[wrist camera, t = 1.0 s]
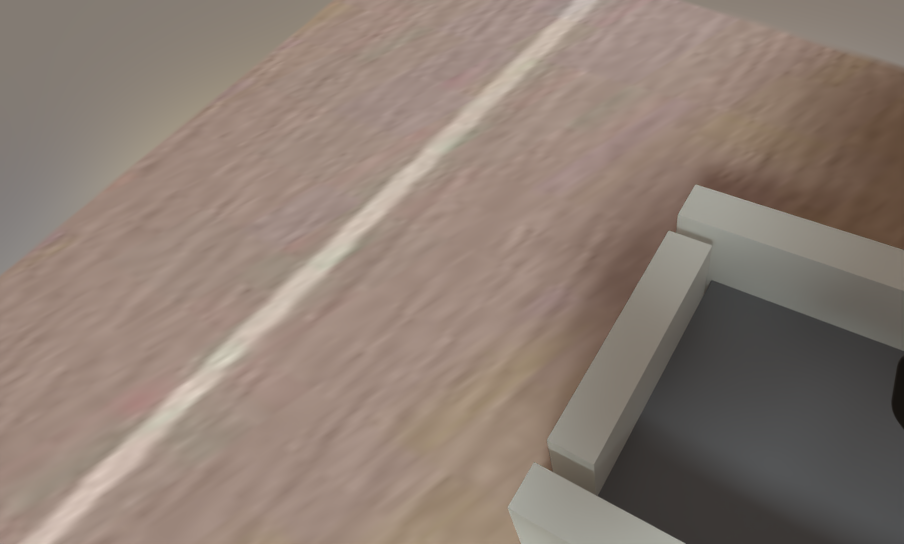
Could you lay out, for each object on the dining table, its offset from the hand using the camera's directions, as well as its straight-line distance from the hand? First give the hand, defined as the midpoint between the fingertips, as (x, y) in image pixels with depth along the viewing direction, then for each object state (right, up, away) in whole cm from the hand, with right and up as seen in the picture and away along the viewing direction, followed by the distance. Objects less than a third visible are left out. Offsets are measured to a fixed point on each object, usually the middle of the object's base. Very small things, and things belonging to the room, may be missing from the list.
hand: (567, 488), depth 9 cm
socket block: (+10, -4, +15) cm, 18 cm away
